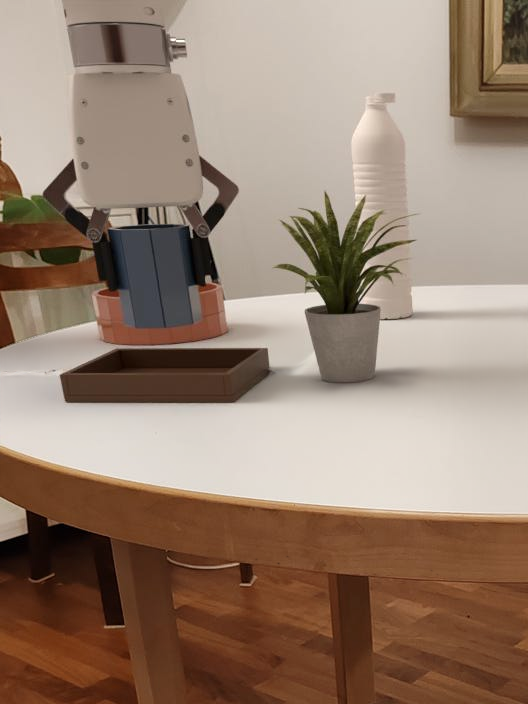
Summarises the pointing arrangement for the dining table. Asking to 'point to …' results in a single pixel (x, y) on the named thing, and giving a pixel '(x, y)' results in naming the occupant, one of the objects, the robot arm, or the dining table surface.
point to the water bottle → (383, 203)
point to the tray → (166, 375)
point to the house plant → (342, 292)
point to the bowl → (119, 333)
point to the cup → (155, 275)
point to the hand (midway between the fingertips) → (158, 285)
